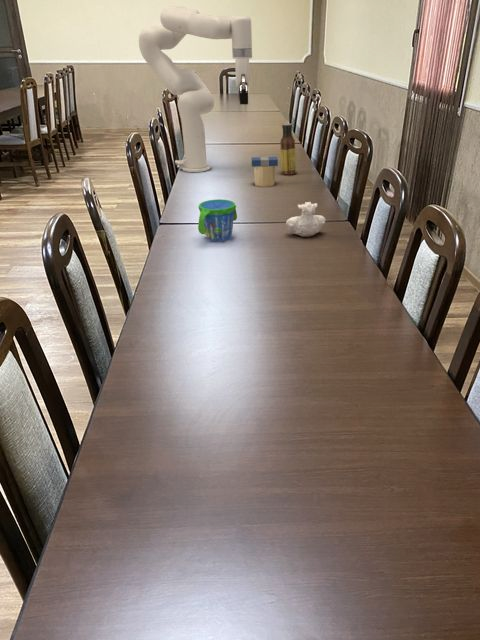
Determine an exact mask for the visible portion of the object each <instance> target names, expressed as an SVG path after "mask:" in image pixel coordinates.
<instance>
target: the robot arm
mask: <svg viewBox="0 0 480 640" xmlns="http://www.w3.org/2000/svg"><path fill="white" fill-rule="evenodd" d="M159 19H160V23H161V24H162V26H157V25H154V26H153V25H152V26H148V27H145V28H143V29H141V31H140V33H139V35H138V47H139V52H140V54H141V56H142V58H143V59H144V60H145V62H146V63H147V65H148V66H149V67H150V68H151V69H152V71H154V73H155V74H156V76H157V77H158V78H159V81H161V83H163V85H164V87H165V88H166V89H167V91H168V92H169V93H170V94H172V95H174V96H179V97H178V99H177V110H178V112H179V118H180V123H181V129H182V130H181V132H182V140H183V151H184V152H183V153H184V154H183V155H184V158H183V159H182V160H181V159H180V160H179V159H178V160H176V159H175V160H174V165H175V166H182V167H181V169H182V171H184V172H187V173H200V172H206V171H209V170H211V165H210V164H208V163H207V161H208V160H207V148H206V146H207V145H206V133H205V132H206V131H205V125H204V121H203V119H202V115H205V114H208V113H210V112H211V111H212V110H213V109H214V107H215V99H214V96H213V94H212V93H211V91H210V90H209V88H208V87H207V85H206V84H205V83H204V82H203V80H202V79H201V78H200V76H199V75H198V74H197V72H195V71H194V70H192V69H190V68H183V69H182V68H179V67H177V66H176V64H175V63H174V62H173V60H172V59H171V58H170V57H169V56H168V55H167V54H166V53H164V52H163V51H162V50H164V51H165V50H166V51H167V50H172V49H175V47H177V46H178V45H179V43H180V42H181V41H182V40H183V39H184V38H185V37H186V36H187V35H191V36H195V37H199V38H205V39H208V40H209V39H210V40H231V48H232V49H231V50H232V53H231V54H232V59H234V60H235V62H234V68H235V71H234V72H235V87H236V88H239V92H238V94H239V96H238V97H239V104H240V105H241V106H242V105H248V104H249V92H248V87H249V85H250V59H253V40H252V39H253V37H252V35H253V34H252V33H253V32H252V19H251V17H250V16H248V15H235V16H231V15H228V16H227V15H209V14H208V15H207V14H202V13H200V11H198V10H197V9H191V8H188V7H185V6H167V7H164V8H163V10H161V12H160V16H159Z"/></svg>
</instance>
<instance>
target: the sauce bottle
mask: <svg viewBox="0 0 480 640" xmlns="http://www.w3.org/2000/svg"><path fill="white" fill-rule="evenodd" d="M281 128H282V137H281V139H280V142H279V143H280V170H281V171H280V172H281V174H282V175H284V176H285V175H286V176H292V175H295V174H296V173H297V170H296V169H297V165H296V164H297V162H296V160H297V159H296V141H295V139H294V136H293V123H282V125H281Z"/></svg>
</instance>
